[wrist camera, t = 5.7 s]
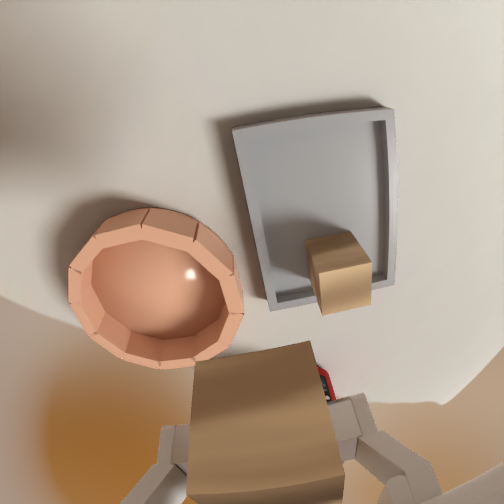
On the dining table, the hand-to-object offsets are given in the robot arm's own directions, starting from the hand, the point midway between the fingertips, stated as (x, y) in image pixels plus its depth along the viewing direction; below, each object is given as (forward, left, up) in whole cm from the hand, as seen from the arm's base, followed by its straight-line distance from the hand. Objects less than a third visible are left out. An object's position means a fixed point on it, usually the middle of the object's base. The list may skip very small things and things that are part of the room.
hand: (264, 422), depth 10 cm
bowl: (+5, -9, -18) cm, 21 cm away
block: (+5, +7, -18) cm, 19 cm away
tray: (+1, +7, -18) cm, 19 cm away
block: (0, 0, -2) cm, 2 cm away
